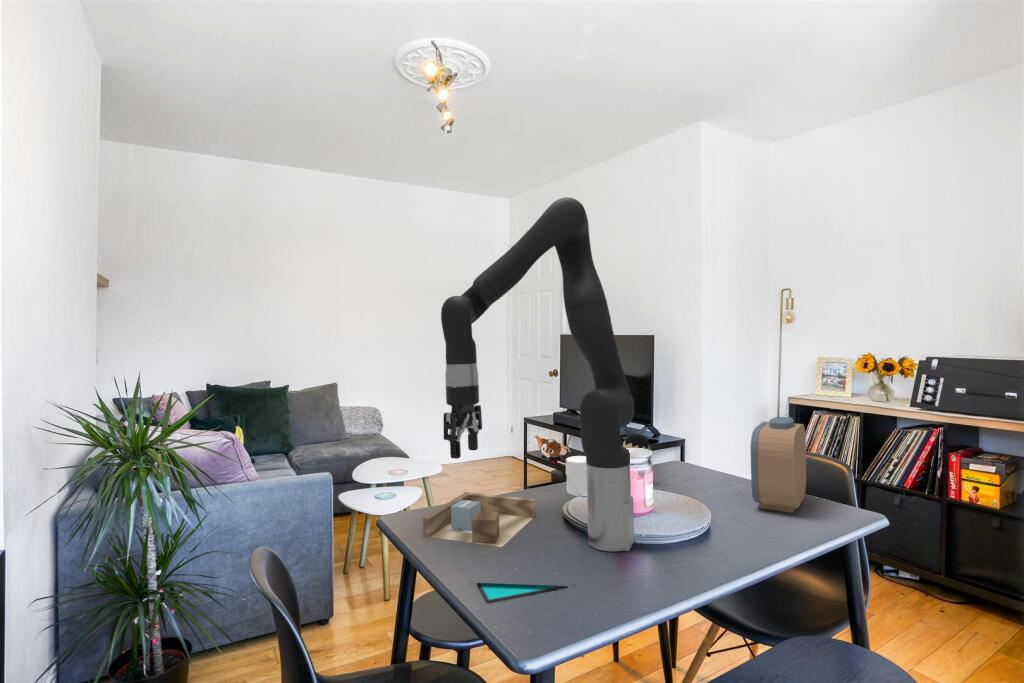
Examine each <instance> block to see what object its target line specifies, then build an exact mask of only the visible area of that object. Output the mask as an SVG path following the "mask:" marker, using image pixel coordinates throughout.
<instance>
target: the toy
mask: <svg viewBox="0 0 1024 683" xmlns="http://www.w3.org/2000/svg"><path fill="white" fill-rule="evenodd" d="M622 444H623V445H622V446H623V447H625V448H644V449H648V450H650V449H651V446H650V445H651V444H650V442H649V440H648V439H647V438H646V437H645V436H644V435H642V434H639V433H633V434H630V435H628V436H627V437H626V438H625V439H624V441H623V443H622ZM650 451H651V450H650ZM649 460H650V463H651V465H652V464H653V461H652V460H651V459H649Z"/></svg>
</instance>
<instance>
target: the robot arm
mask: <svg viewBox="0 0 1024 683" xmlns="http://www.w3.org/2000/svg"><path fill="white" fill-rule="evenodd" d="M589 230H590V228H589V219H588V215H587V212H586V209H585V207H584V206H583V204H582V203H581V202H580V201H579V200H577V199H575V198H573V197H567V196H566V197H561V198H558V199H556V200H554V201H553V202H552V203H551V204H550V205H549V206H548V208H546V210H545V211H543V213H542V214H541V215H540V216H539V217H538V219H537V220H536V221H535V223H533V225H532V226H531V227H530V228H529V229H528V230H527V231H526V232H525V233H524V234H523V235H522V236H521V237H520V238H519V239H518V240H517V242H516V243H515V244H513V245H512V247H510V248H509V249H508V250H507V251H506V252H505V253H504V254H502V255H501V256H500V257H499V258H498V259H497V260H495V261H494V262H493V263H492V264H490V265H489V266H488V267H487V268H486V269H484V270H483V271H482V272H481V273H480V274H479V275H478V276H477V277H476V278H475V279H474V280H473V282H472V285H471V286H469V288H468V289H467V290H465V291H464V292H463V293H462V294H461V295H453V296H450V297H448V298H446V299H445V301H444V302H443V304H442V306H441V310H440V312H441V313H440V320H441V328H442V332H443V338H444V342H445V373H444V374H445V377H444V378H445V398H446V399H445V401H446V404H447V406H451V410H450V411H451V412H444V413H443V440H444V441H448V442H449V448H450V452H449V453H450V454H449V455H450V458H451V459H457V460H458V459H460V458H461V452H462V451H461V441H460V440H461V438H462V434H464V432H465V430H466V432H467V433H468V434H467V447H468V448H467V449H468V450H469V451H477V450H478V449H479V441H478V440H479V437H478V434H480V433H479V432H480V431H482V429H483V420H482V419H483V418H482V406H481V405H479V403H480V389H479V388H480V386H479V383H480V382H479V370H478V365H477V364H478V362H477V361H478V360H477V345H476V341H475V340H474V338H473V328H472V326H473V325H472V324H474V323H475V322H476V321H477V320H479V319H480V317H482V316H483V315H484V314H485V312H486V311H488V309H489V308H490V307H491V306H492V305H493V304H494V303H496V301H497V302H498V300H500V299H501V298H502V297H503V296H504V295H506V294H507V293H508V292H510V291H511V289H513V288H514V287H515V286H516V285H517V284H518V283H519V282H520V281H521V280H522V279H523V278H524V277H525V276H526V274H527V273H529V270H530V269H531V268H532V267H533V265H534V264H535V263H536V262H537V261H538V260H539V259H540V258H541V257H542V256H543V255H544V254H545V253H547V252H548V251H549V250H551V249H552V248H555V251H556V254H557V256H558V260H559V263H560V268H561V273H562V294H563V295H562V296H563V302H564V303H563V304H564V309H565V310H564V311H565V315H566V318H567V323H568V328H569V332H570V334H571V336H572V339H573V341H574V343H575V344H576V345H577V347H578V348H579V350H580V352H581V353H582V355H583V356H584V358H585V359H586V361H587V363H588V365H589V368H590V369H591V374H592V378H593V383H594V387H595V389H593V390H591V391H589V392H587V393H586V394H585V395H584V397H582V399H581V403H580V407H579V422H580V424H579V425H580V426H579V427H580V437H581V438H580V439H581V448H582V450H583V453H584V455H585V456H586V473H587V497H586V501H587V502H586V503H587V505H586V506H587V539H588V540H587V541H588V545H589V546H590V547H592V548H594V549H595V550H599V551H603V552H624V551H625V552H630V550H631V548H632V547H633V544H634V542H635V516H634V515H635V514H634V512H635V511H634V510H635V509H634V496H632V492H631V491H632V490H631V487H632V485H631V464H630V453H629V450H628V449H626V448H625V447H623V445H622V444H623V443H622V439H621V429H622V428H624V427H626V426H628V425H629V424H630V423H631V422H632V420H633V419H634V414H635V403H634V398H633V395H632V393H631V390H630V386H629V384H628V380H627V378H626V373H625V372H624V369H623V366H622V362H621V359H620V354H619V350H618V345H617V341H616V338H615V337H616V336H615V334H614V330H613V325H612V318H611V315H610V309H609V305H608V301H607V296H606V293H605V291H604V288H603V285H602V282H601V280H600V277H599V274H598V273H597V269H596V266H595V263H594V259H593V255H592V247H591V240H590V231H589Z"/></svg>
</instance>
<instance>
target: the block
mask: <svg viewBox="0 0 1024 683" xmlns="http://www.w3.org/2000/svg"><path fill="white" fill-rule="evenodd" d="M476 512H481V506H480V502H476V501H467V500H460V501H459V502H457V503H456V504H454V505H452V506H451V527H452V528H454V529H461V530H468V531H471V530H472V518H473V517H474V515H475V513H476Z"/></svg>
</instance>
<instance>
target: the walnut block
mask: <svg viewBox="0 0 1024 683" xmlns="http://www.w3.org/2000/svg"><path fill="white" fill-rule="evenodd" d="M498 537H499V512H476V513H475V515H474V517H473V518H472V543H471V544H475V543H489V544H496V542H497V539H498Z"/></svg>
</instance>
